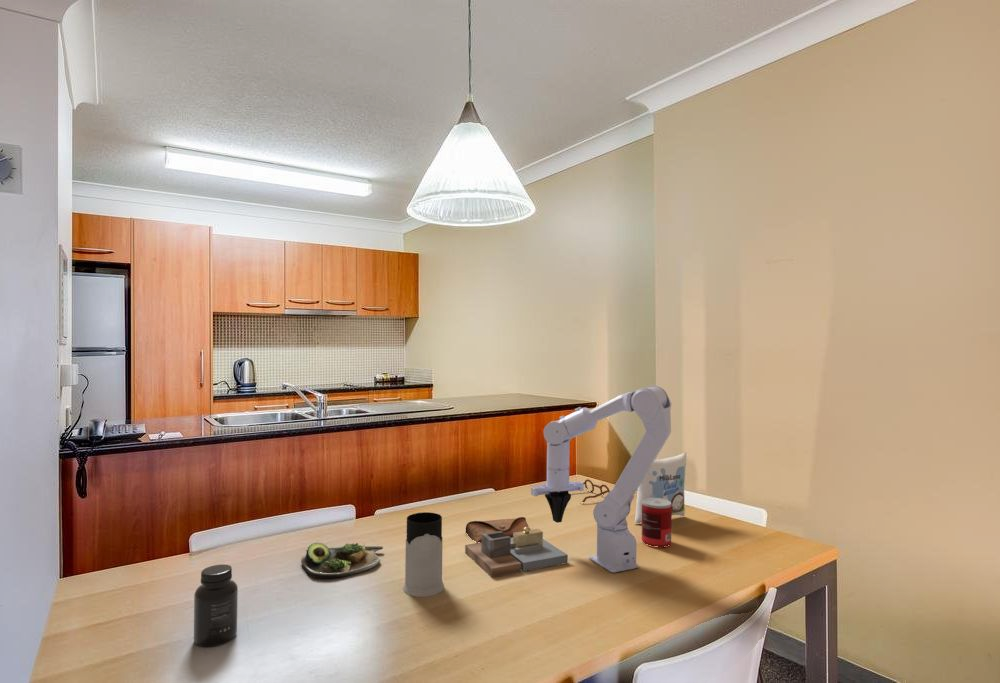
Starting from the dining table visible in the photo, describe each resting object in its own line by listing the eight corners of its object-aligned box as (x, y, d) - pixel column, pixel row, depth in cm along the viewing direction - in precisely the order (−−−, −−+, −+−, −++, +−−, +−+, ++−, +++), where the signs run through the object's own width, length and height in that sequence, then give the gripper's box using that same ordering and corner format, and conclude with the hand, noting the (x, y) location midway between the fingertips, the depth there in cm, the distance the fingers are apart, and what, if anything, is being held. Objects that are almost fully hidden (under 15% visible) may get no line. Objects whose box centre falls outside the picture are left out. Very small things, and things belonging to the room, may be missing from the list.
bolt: (542, 546, 137) (542, 527, 137) (517, 550, 134) (517, 530, 134) (537, 543, 140) (538, 524, 140) (513, 547, 137) (513, 527, 137)
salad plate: (371, 544, 145) (371, 526, 145) (398, 567, 130) (398, 547, 130) (294, 559, 134) (294, 540, 134) (314, 586, 119) (314, 565, 119)
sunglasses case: (473, 543, 145) (470, 517, 148) (467, 549, 150) (464, 524, 154) (537, 536, 151) (532, 512, 154) (528, 542, 156) (524, 518, 159)
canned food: (668, 538, 150) (668, 498, 150) (674, 549, 142) (674, 506, 142) (639, 537, 151) (639, 496, 151) (644, 547, 143) (644, 505, 143)
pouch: (626, 520, 166) (626, 453, 166) (677, 513, 173) (678, 449, 173) (642, 528, 158) (642, 458, 158) (695, 521, 165) (696, 454, 165)
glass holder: (405, 599, 113) (405, 525, 113) (398, 571, 127) (399, 506, 127) (447, 594, 115) (448, 522, 116) (436, 567, 129) (437, 503, 129)
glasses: (611, 500, 188) (611, 486, 188) (580, 506, 182) (580, 490, 182) (586, 491, 199) (586, 477, 199) (557, 496, 193) (557, 482, 193)
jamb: (521, 571, 127) (521, 544, 127) (491, 577, 124) (492, 549, 124) (492, 548, 142) (492, 524, 142) (465, 552, 138) (465, 528, 138)
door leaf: (567, 563, 132) (567, 550, 133) (523, 571, 127) (523, 558, 127) (535, 541, 147) (535, 530, 147) (494, 548, 142) (494, 536, 142)
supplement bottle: (243, 627, 101) (244, 561, 101) (226, 648, 94) (227, 577, 94) (205, 627, 101) (206, 561, 101) (185, 648, 94) (186, 577, 94)
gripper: (573, 462, 147) (572, 513, 147) (525, 466, 141) (524, 520, 141) (588, 467, 141) (587, 521, 141) (539, 472, 135) (538, 528, 135)
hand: (557, 521), depth 141 cm, fingers closed
